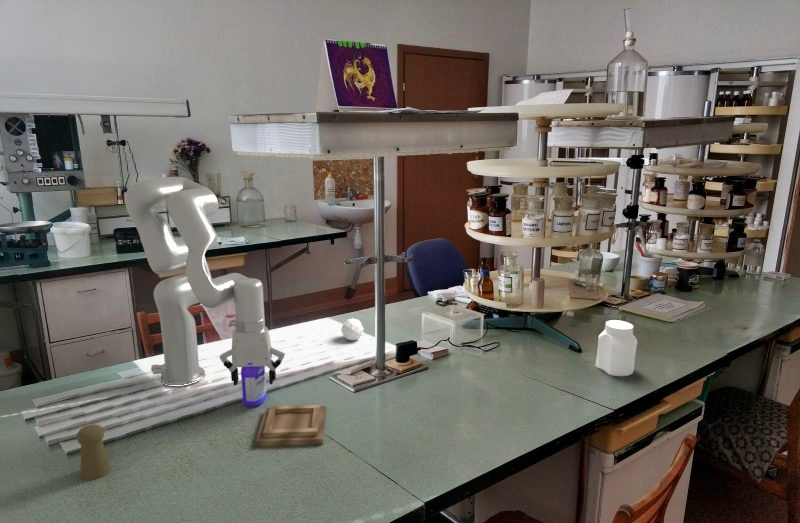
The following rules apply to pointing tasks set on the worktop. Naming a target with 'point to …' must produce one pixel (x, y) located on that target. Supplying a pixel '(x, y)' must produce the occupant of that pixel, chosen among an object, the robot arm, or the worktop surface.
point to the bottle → (253, 385)
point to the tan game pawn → (93, 453)
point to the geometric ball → (352, 329)
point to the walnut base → (292, 425)
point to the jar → (617, 348)
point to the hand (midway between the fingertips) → (254, 382)
